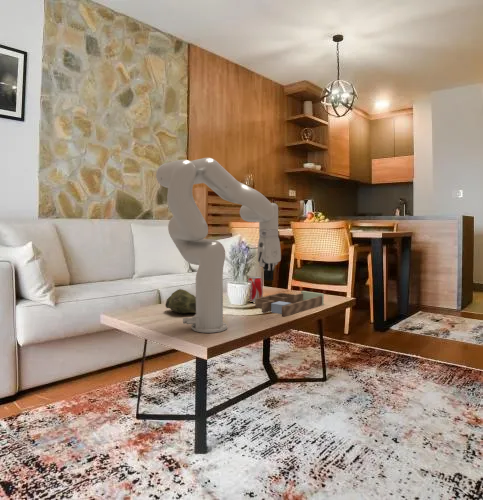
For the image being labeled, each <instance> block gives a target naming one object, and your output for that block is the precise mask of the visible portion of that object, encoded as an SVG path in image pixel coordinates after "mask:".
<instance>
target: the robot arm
mask: <svg viewBox="0 0 483 500" xmlns="http://www.w3.org/2000/svg"><path fill="white" fill-rule="evenodd" d="M155 178H156V181H157V182H158V183H159V185H160V186H161V187H163V188H167V194H166V195H167V197H166V201H167V206H168V208H169V210H170V212H171V214H172V217H171V218H170V220H169V221H168V225H167V229H168V234H169V236H170V238H171V240H172V242H173V243H174V245H175V247H176V248H177V250H178V251H179V253H180V255H181V256H182V257H183V259H184V260H185V262H187V263H189V264H191V265H196V266H198V268H197V271H196V274H195V297H196V313H195V314H194V315H193V316H191V317H183V318H182V324H183V325H184V324H185V325H191V330H192V331H194V332H197V333H204V334H209V333H211V334H213V333H219V332H223V331H225V330H227V329H228V324H227V323H226V322H224V317H223V316H224V313H223V312H224V311H223V310H224V309H223V308H224V304H223V303H224V298H223V297H224V292H223V291H224V290H223V287H224V285H223V281H224V280H223V278H224V275H223V274H224V264H225V260H226V249H225V247H224V245H223V244H222V243H221V242H220V241H218V240H216V239H211V238H206V237H207V236H208V234H209V227H208V223H207V221H206V219H205V218H204V216H203V213H202V212H201V210H200V208H199V207H198V205H197V203H196V201H195V198H194V196H193V195H194V194H193V188H194V185H198V184H204V185H206V186H207V187H208V188H209V189H211V191H213V192H214V193H215V194H216V195H217V196H219V197H220V199H222V200H224V201H227V202H230V203H233V204H238V205H241V207H240V209H239V216H240V219H242V220H243V221H244V222H248V223H258V229H259V230H258V234H259V235H258V237H259V238H258V241H257V262H258V263H259V264H258V266H259V267H262V268H263V269H262V270H263V272H264V273H263V274H264V276H263V278H264V281H269V282H271V281H274V270H275V266H277V265H278V264H279V262H281V260H282V252H281V251H282V249H281V243H280V238H279V205H278V204H277V203H275V202H271V201H270V200H269V199H268V198H267V197H266V196H265V195H263V194H262V193H261V192H260V191H258V190H257V189H254V188H253V187H251V186H249V185H246V183H245V184H244V183H243V182H241V181H238V179H236V178H235V176H233V175H232V174H231V173H230V172H228V171H227V169H225V167H223V166H222V165H221V164H220V162H218V161H217V160H216V159H214V158H212V157H203V158H198V159H194V160H188V159H177V160H174V161H168V162H165V163H163V164H161V165H159V167H158V168H157V170H156V174H155Z"/></svg>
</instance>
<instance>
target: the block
mask: <svg viewBox="0 0 483 500" xmlns="http://www.w3.org/2000/svg"><path fill="white" fill-rule="evenodd" d="M289 304H292V303H288V302H281V301H278V302H275V303H271V311H270V312H271V313H272V314H278V315H282V306H285V305H289Z"/></svg>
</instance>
